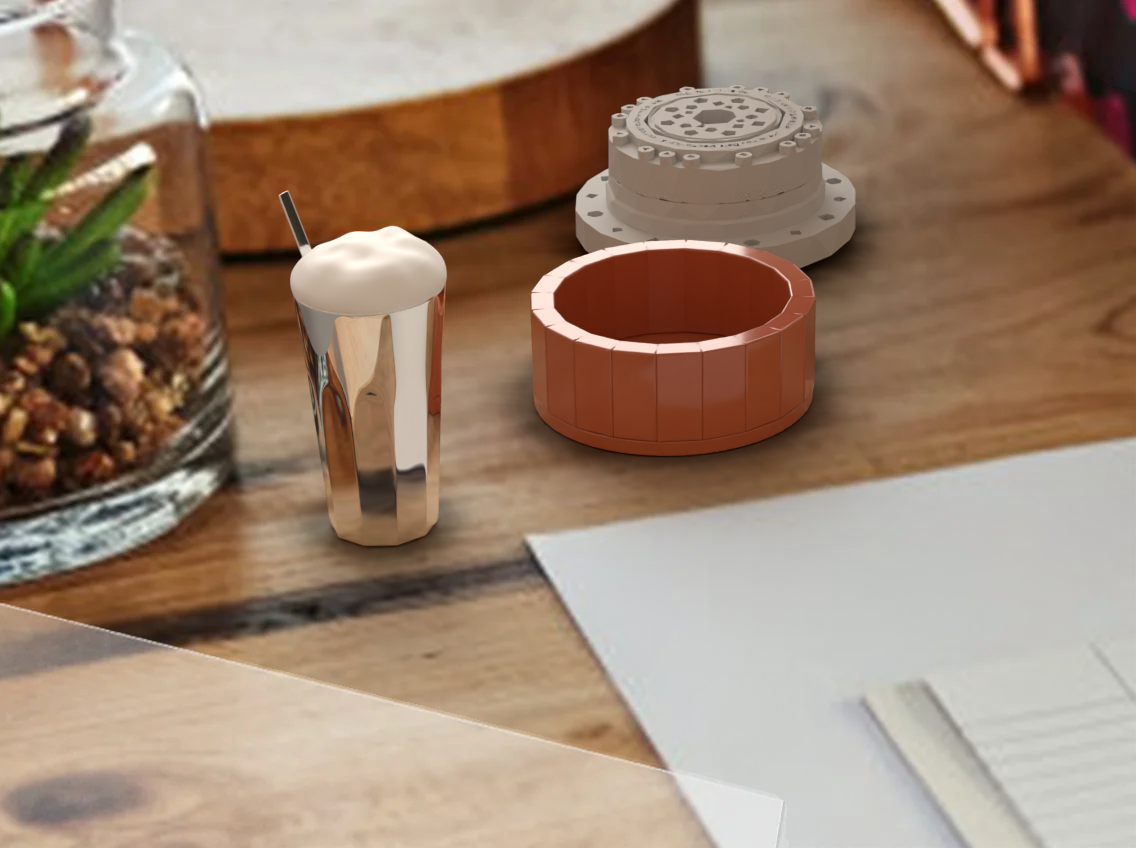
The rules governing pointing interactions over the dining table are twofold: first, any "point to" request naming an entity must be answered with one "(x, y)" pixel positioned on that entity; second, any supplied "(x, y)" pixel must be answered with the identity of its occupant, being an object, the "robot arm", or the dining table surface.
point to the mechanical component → (718, 177)
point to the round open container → (673, 347)
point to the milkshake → (373, 376)
